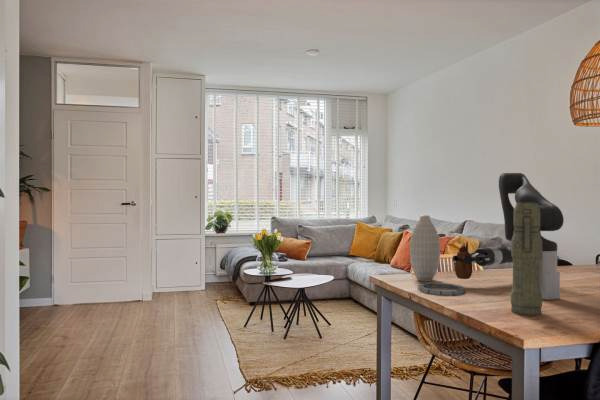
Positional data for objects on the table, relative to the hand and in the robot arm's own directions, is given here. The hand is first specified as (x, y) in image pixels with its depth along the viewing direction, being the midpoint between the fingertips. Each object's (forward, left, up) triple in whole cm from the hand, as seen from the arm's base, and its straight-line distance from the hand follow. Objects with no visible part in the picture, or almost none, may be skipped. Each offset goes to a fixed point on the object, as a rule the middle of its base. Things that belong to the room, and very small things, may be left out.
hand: (458, 259), depth 191 cm
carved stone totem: (-40, +12, -12) cm, 43 cm away
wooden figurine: (0, -3, -8) cm, 9 cm away
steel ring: (-2, +11, -11) cm, 16 cm away
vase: (+18, +1, -12) cm, 22 cm away
